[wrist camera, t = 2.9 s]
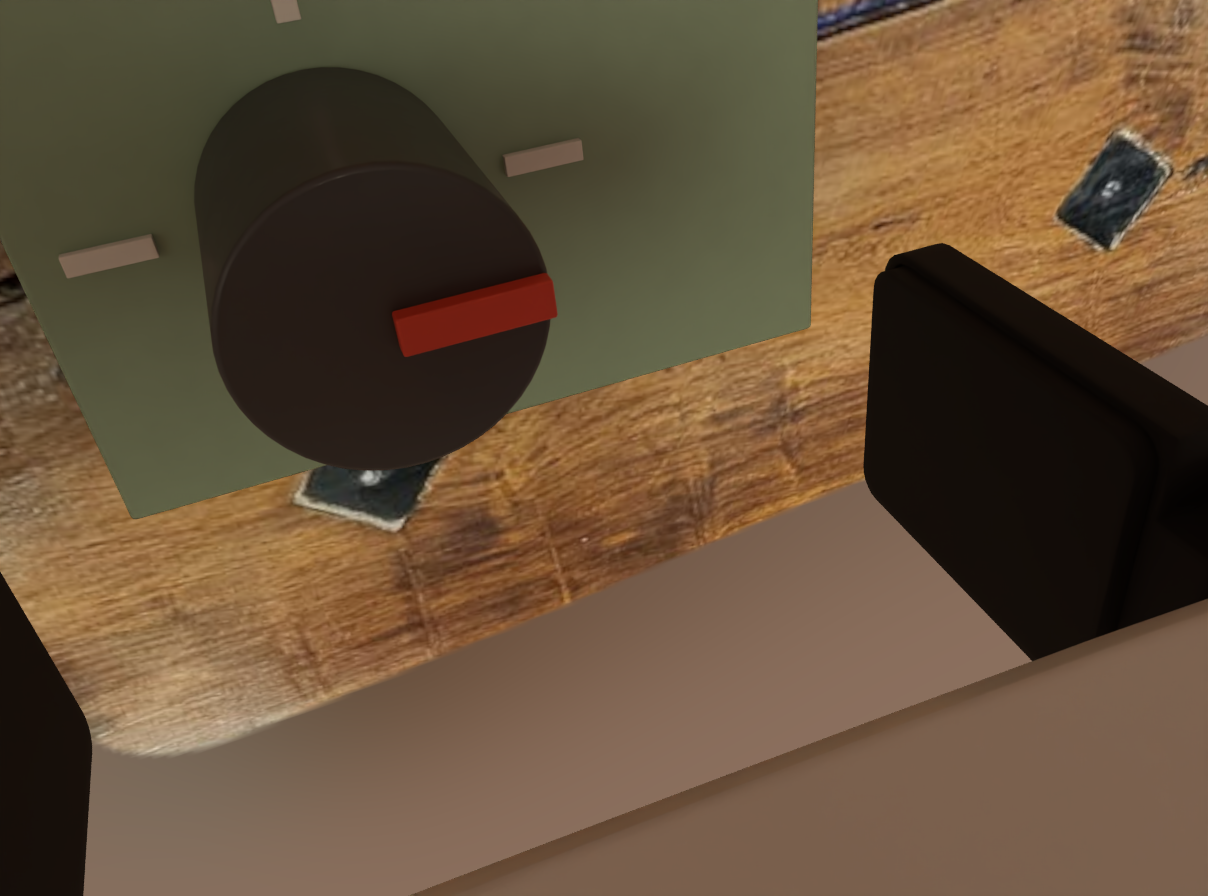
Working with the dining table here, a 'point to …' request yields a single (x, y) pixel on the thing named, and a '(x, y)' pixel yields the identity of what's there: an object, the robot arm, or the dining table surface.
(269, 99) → the knob
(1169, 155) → the dining table surface
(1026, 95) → the dining table surface
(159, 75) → the panel
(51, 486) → the dining table surface
